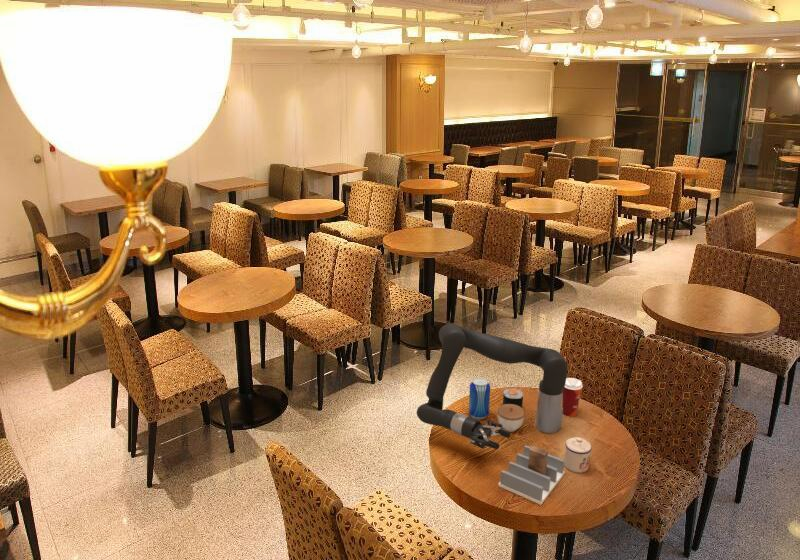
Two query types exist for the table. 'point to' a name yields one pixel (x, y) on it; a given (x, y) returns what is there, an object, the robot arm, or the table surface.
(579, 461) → the teacup with lid
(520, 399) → the sushi
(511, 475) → the rack
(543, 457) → the walnut board
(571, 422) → the table surface
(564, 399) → the coffee cup
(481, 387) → the beer can
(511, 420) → the lidded jar
